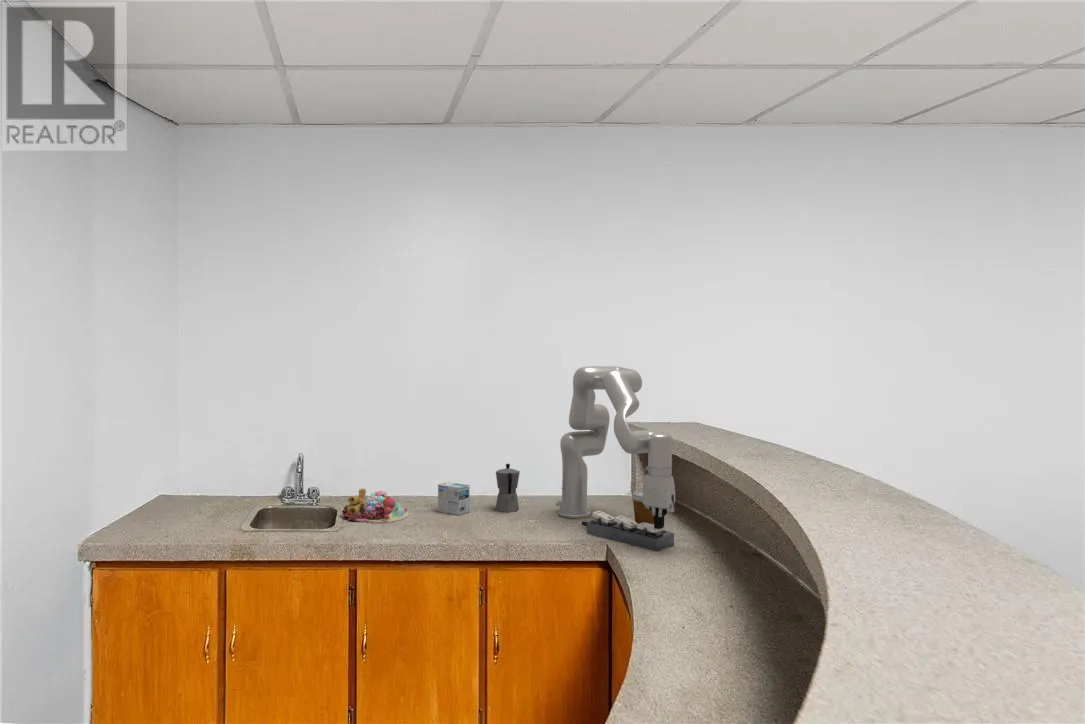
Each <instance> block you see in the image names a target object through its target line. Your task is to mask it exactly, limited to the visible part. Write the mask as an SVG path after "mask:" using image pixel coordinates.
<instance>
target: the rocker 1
mask: <svg viewBox="0 0 1085 724" xmlns="http://www.w3.org/2000/svg"><path fill="white" fill-rule="evenodd" d="M591 515H592V517H594V518H596V519H597V518H599V519H601V520H602V521H604V522H606V523H611V522H615V521H614V518H615V516H613V515H610V514H608V513H606V512H604V511H602V510H596V511H593V512H592V514H591Z"/></svg>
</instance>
